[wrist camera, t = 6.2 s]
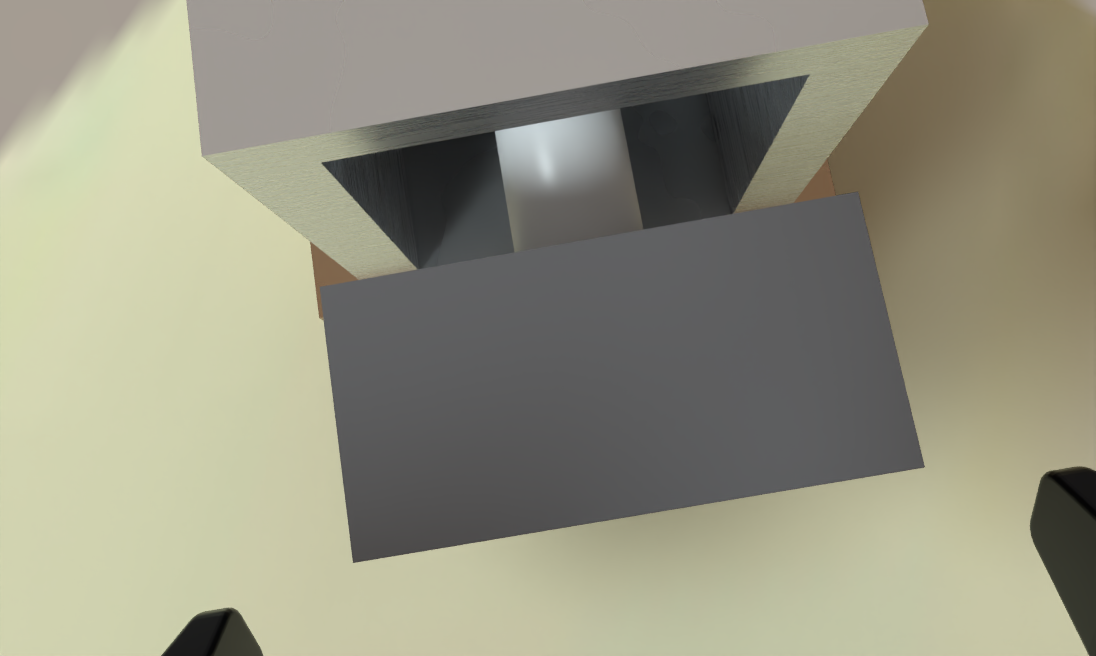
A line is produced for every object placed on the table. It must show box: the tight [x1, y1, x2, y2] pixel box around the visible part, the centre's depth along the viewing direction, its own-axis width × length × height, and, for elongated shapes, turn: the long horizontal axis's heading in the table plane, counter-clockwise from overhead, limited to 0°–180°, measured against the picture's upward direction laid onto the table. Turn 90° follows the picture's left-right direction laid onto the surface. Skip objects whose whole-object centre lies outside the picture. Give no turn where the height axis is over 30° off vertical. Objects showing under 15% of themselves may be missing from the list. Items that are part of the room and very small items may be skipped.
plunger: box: [320, 109, 925, 563], centre depth 11 cm, size 8×5×7 cm, turn 10°
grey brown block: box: [187, 0, 929, 320], centre depth 13 cm, size 6×8×10 cm
